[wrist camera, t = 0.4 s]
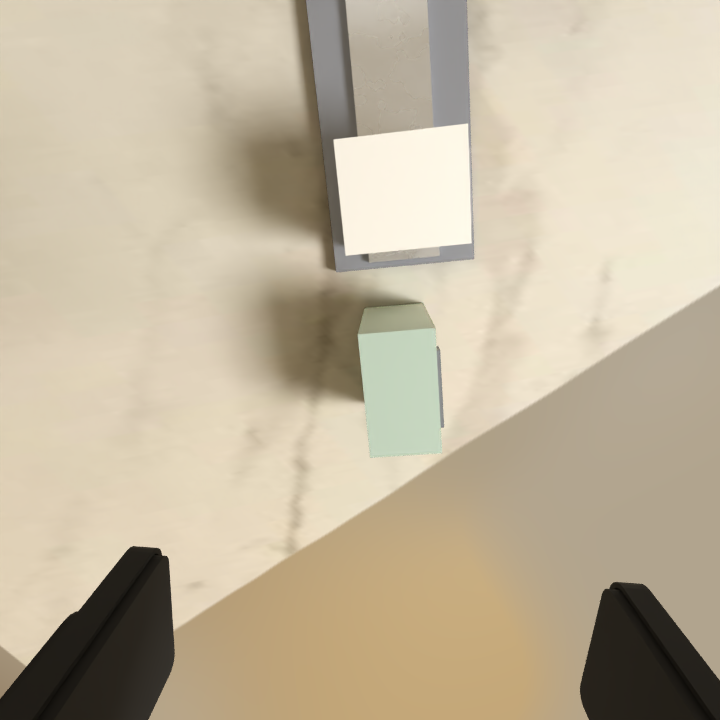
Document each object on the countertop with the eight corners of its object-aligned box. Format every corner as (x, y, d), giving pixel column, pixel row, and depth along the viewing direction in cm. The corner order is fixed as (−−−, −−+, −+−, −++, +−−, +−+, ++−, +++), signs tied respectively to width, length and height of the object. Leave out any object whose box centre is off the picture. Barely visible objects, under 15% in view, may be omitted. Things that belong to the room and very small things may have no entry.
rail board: (458, -176, 27) (491, -356, 18) (471, 258, 34) (499, 268, 25) (291, -147, 27) (251, -308, 19) (337, 270, 34) (322, 284, 26)
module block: (426, 302, 35) (439, 327, 26) (432, 400, 37) (446, 452, 28) (364, 307, 35) (357, 334, 26) (373, 404, 37) (370, 457, 29)
